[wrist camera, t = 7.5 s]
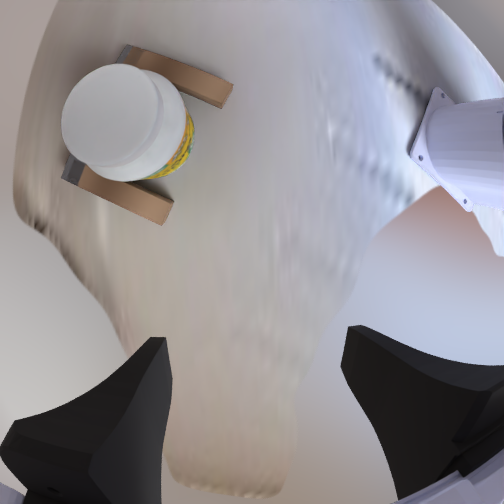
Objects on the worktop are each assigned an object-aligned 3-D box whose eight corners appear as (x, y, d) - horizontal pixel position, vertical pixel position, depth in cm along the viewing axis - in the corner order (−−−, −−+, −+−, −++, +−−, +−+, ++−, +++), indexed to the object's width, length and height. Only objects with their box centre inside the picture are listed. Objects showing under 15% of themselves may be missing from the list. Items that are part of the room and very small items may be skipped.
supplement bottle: (164, 86, 17) (127, 22, 8) (212, 142, 18) (210, 113, 9) (104, 138, 17) (27, 118, 8) (150, 195, 19) (96, 214, 9)
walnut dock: (231, 90, 17) (233, 84, 16) (165, 221, 19) (161, 225, 18) (132, 52, 16) (127, 44, 14) (70, 177, 17) (60, 178, 16)
